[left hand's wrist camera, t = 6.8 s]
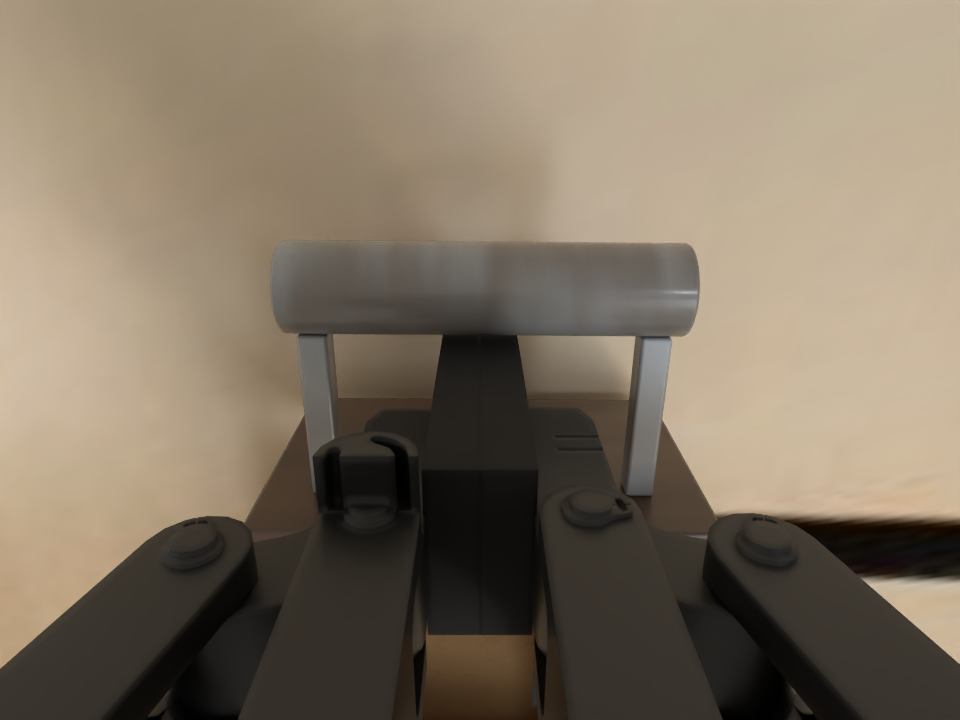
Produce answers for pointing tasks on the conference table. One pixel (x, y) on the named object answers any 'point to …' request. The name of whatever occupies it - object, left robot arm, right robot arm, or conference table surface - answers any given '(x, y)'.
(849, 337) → the conference table surface
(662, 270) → the drawer
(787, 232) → the conference table surface
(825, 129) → the conference table surface
